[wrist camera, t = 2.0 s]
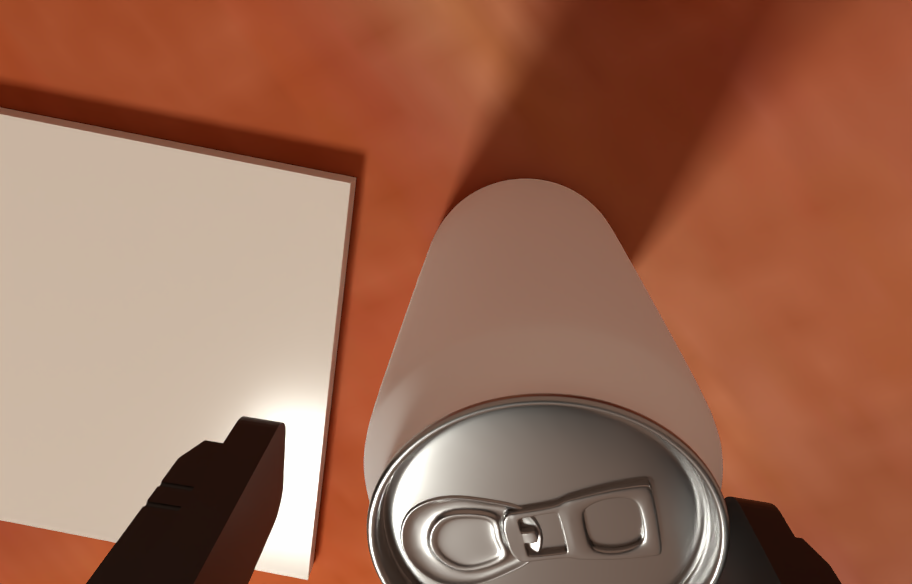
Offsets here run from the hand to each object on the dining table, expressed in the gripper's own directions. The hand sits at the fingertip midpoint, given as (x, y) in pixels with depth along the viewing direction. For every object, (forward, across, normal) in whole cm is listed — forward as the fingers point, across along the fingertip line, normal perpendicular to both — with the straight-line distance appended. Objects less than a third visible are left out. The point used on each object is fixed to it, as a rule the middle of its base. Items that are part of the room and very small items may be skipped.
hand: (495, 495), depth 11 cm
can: (+11, -1, 0) cm, 11 cm away
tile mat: (+11, +14, +6) cm, 19 cm away
